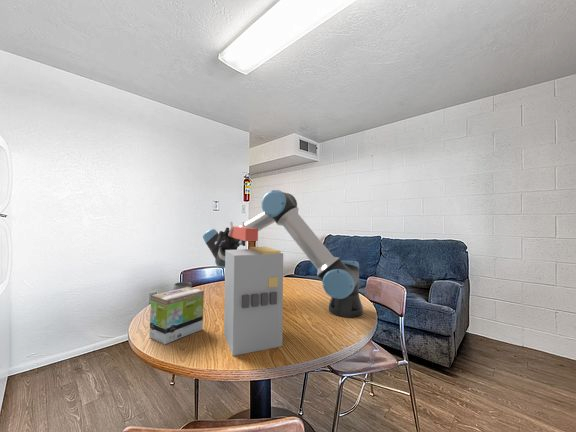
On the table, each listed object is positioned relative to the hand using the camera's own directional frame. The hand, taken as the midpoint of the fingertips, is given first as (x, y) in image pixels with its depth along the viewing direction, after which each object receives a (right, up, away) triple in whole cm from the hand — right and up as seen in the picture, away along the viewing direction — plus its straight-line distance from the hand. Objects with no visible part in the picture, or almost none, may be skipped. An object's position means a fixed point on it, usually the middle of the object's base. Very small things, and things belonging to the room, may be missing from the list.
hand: (237, 225), depth 99 cm
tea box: (-20, -39, -8) cm, 44 cm away
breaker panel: (+7, -39, -12) cm, 41 cm away
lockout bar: (+3, -5, -6) cm, 8 cm away
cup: (-31, -39, +24) cm, 56 cm away
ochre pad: (+11, -9, -10) cm, 17 cm away
